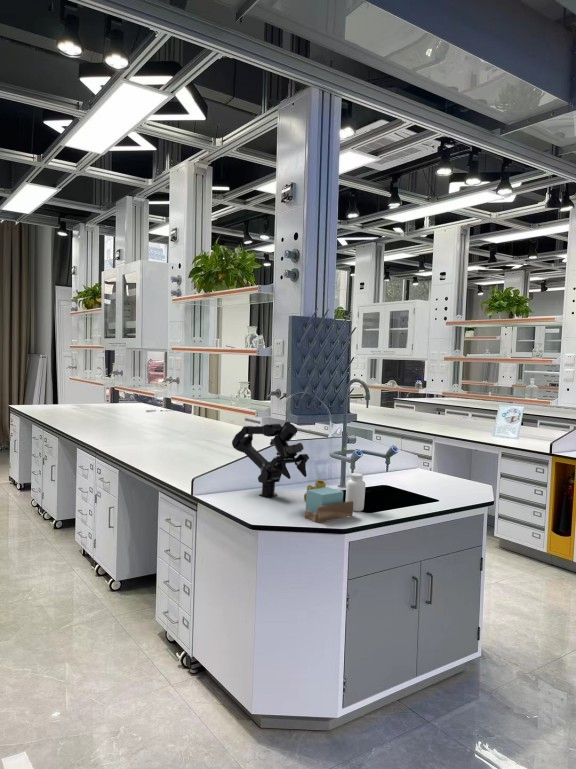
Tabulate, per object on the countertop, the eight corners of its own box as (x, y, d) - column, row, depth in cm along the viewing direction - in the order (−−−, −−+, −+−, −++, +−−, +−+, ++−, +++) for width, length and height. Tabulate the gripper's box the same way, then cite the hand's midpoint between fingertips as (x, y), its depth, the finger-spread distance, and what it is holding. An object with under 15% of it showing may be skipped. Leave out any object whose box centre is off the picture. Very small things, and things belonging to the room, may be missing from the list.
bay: (304, 518, 223) (305, 502, 223) (339, 511, 237) (340, 497, 237) (317, 522, 218) (318, 507, 217) (353, 515, 231) (354, 501, 231)
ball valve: (333, 504, 251) (321, 496, 260) (335, 482, 249) (323, 474, 258) (309, 508, 245) (297, 499, 254) (311, 486, 243) (299, 477, 252)
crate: (305, 514, 229) (306, 490, 229) (326, 510, 237) (327, 487, 236) (320, 520, 222) (322, 495, 222) (341, 516, 230) (343, 491, 230)
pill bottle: (349, 511, 237) (351, 476, 237) (342, 506, 245) (344, 472, 244) (366, 511, 240) (369, 476, 239) (359, 506, 247) (361, 472, 247)
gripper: (275, 437, 239) (291, 468, 231) (307, 435, 251) (323, 464, 243) (262, 453, 245) (277, 483, 237) (294, 450, 257) (309, 479, 250)
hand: (297, 477), depth 242 cm, fingers open, 9 cm apart
